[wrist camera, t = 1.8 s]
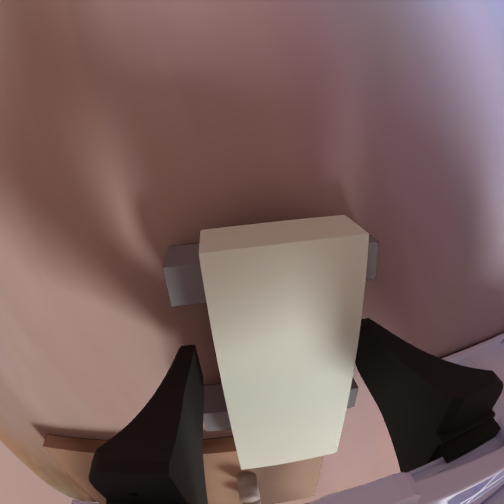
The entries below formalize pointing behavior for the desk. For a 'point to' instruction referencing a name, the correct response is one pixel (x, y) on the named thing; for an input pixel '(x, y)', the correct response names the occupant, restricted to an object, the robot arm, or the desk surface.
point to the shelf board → (285, 331)
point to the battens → (192, 292)
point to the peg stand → (206, 472)
